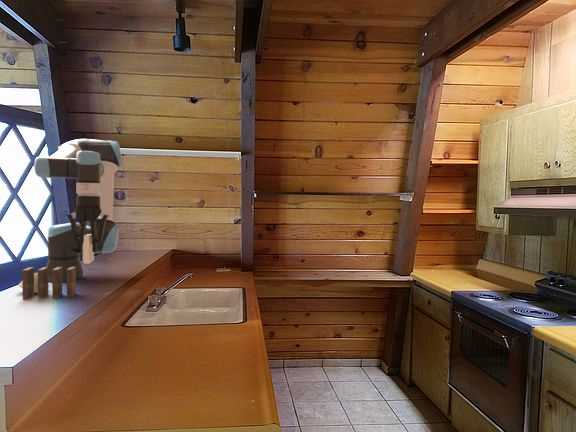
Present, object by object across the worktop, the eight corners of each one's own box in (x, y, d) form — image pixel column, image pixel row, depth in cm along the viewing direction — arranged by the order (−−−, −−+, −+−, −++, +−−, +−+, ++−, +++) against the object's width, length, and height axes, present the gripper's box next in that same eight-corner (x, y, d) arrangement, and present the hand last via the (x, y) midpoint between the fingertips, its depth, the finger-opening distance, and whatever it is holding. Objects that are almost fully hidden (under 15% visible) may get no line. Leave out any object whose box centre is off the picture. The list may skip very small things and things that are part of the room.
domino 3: (52, 298, 134) (52, 269, 133) (57, 294, 139) (57, 266, 138) (57, 298, 134) (57, 269, 134) (62, 294, 139) (62, 266, 138)
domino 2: (37, 298, 133) (37, 269, 132) (43, 294, 138) (43, 267, 137) (43, 298, 133) (42, 269, 132) (48, 294, 138) (48, 267, 137)
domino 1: (22, 299, 131) (22, 270, 131) (29, 295, 136) (28, 267, 136) (27, 299, 132) (27, 270, 131) (34, 295, 137) (33, 267, 136)
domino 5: (83, 263, 135) (83, 235, 135) (87, 261, 140) (87, 234, 139) (88, 263, 135) (88, 235, 135) (92, 261, 140) (92, 234, 140)
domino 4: (66, 297, 135) (66, 269, 134) (71, 294, 140) (71, 266, 139) (71, 297, 135) (71, 269, 135) (76, 293, 140) (76, 266, 139)
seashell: (43, 281, 148) (51, 273, 144) (37, 302, 143) (46, 295, 139) (19, 276, 143) (27, 267, 138) (12, 297, 138) (21, 289, 134)
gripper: (62, 194, 131) (62, 263, 133) (108, 195, 135) (108, 262, 136) (69, 194, 138) (69, 259, 140) (112, 195, 142) (112, 259, 143)
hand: (88, 260), depth 138 cm, fingers closed on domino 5, 2 cm apart
